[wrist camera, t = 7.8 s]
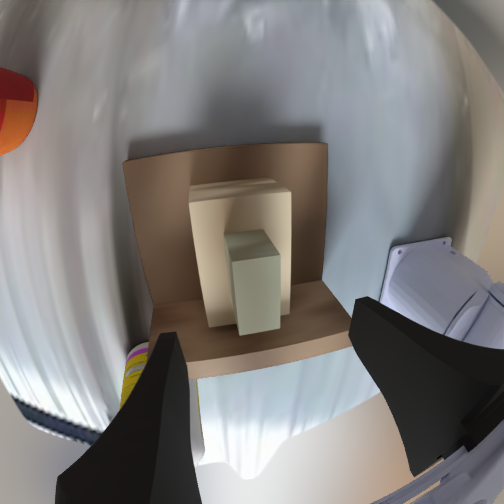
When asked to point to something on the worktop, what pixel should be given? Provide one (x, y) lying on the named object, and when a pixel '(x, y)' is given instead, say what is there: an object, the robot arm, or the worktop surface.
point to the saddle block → (243, 252)
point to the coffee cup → (16, 109)
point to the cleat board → (186, 268)
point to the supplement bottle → (134, 370)
